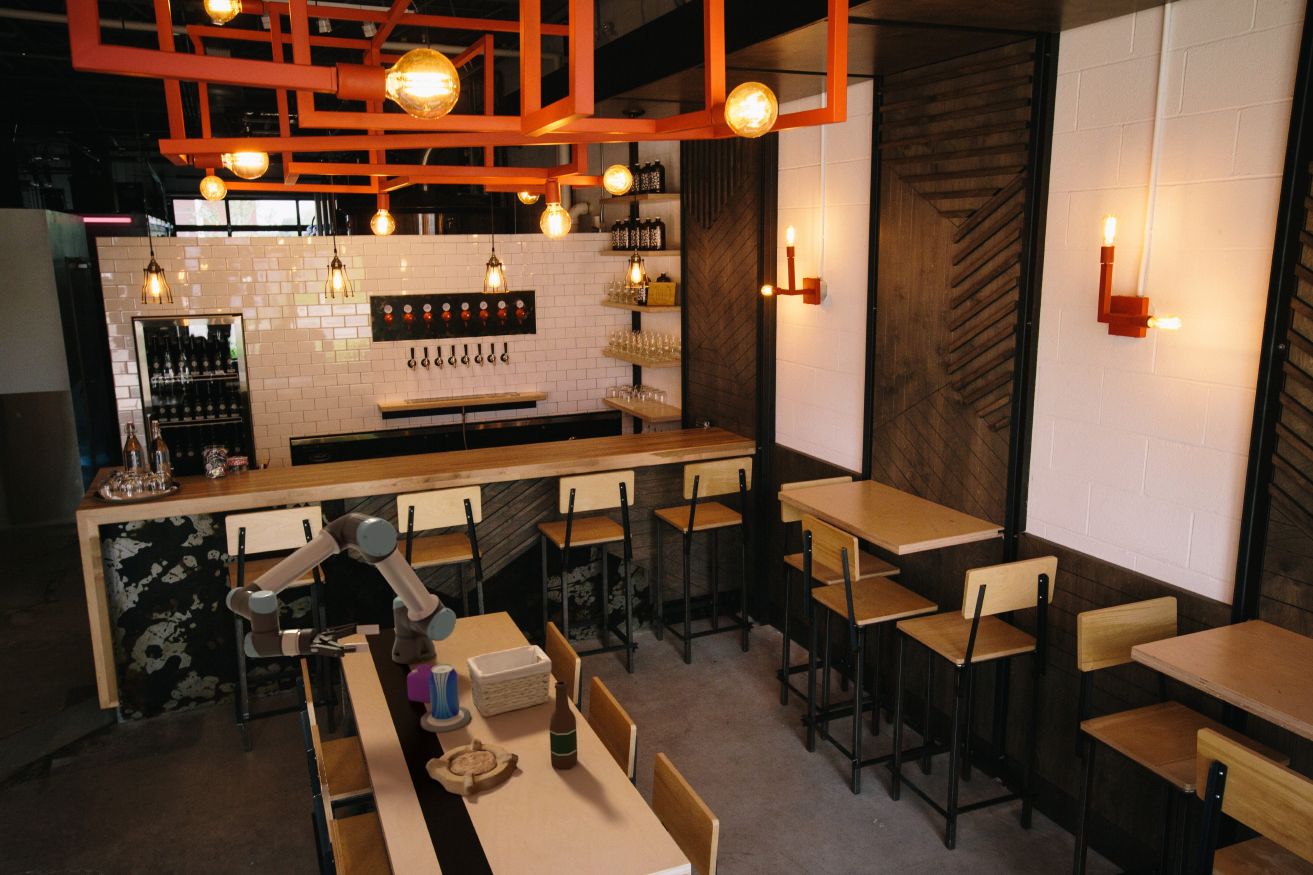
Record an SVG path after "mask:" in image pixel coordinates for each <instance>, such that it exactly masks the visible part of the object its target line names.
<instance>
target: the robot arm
mask: <svg viewBox="0 0 1313 875" xmlns="http://www.w3.org/2000/svg"><path fill="white" fill-rule="evenodd" d="M397 537H398V534H397V531H396V529H395V526H394V525H393V524H392V523H391V522H390V521H387V520H386V519H383V518H381V517H376V516H372V515H368V514H365V513H361V512H351V513H347V514H345V515H343V516H339V517H338V518H337V519H335V520H333V521H332V522H330V523H329V524H327V525H325V526H324V527H323V528H321V529H320V530H319V531H318V535H317V536H316V537H313V539H311V540H310V541H308V542H307V543H305V544H304V545H302V546H301V547H299V548H298V549H296V551H294V552H293V553H292V554H290V555H288V556H287V557H286V558H285V559H283V560H281V561H280V562H278V564H276V565H274V566H273V567H272V568H270V569H269V570H268V571H266V572H264V573H263V574H261V576H259V577H258V578H257V579H255V580H253V581H252V582H250V583H249V584H247V585H246V586H245V587H243V586H239V587H235V588H233V589H232V590H230V591H229V592H228V594H227V596H226V597H225V598H226V600H225V603H226V606H227V608H228V609H229V610H231V611H232V612H234V614H236V615H240V616H242V617H243V618H245V619H247V620H249V621H250V624H251V631H250V632H248V633H247V634H246V636H244V645H243V649H244V652H245V655H246V656H248V657H250V658H268V657H282V656H283V657H286V656H290V657H294V656H298V655H302V656H303V655H304V656H305V655H306V656H307V655H322V656H326V657H332V658H345V656H346V654H359V653H361V654H363V653H369V652H370V650H369V649H370V648H369V642H354V643H350V642H349V643H344V644H341V643H337V642H338V640H341V639H344V638H347V637H350V636H354V635H357V636H363V635H364V636H366V635H380V627H379V626H380V625H379V624H363V625H358V622H353V623H348V624H347V623H346V624H343V625H340V626H338V625H337V626H334V627H333V626H332V627H327V628H326V627H325V628H323V629H322V630H323V632H319V633H318V632H317V629H315V628H303V629H300V628H295V629H281V628H280V619H279V604H278V600H277V594H279V593H281V592H282V591H283V590H285V589H286V588H288V587H289V586H291V585H292V584H293V583H294V582H296V581H297V580H299V579H301V577H303V576H305V575H306V574H307V573H308V572H309V571H311V570H312V569H314V568H315V567H316V566H318V565H319V564H320V563H322V562H323V561H325V560H326V559H327V558H329V557H330V556H331V555H333V554H334V555H335V554H336V555H338V554H340V553H341V552H343V551H344V550H346V549H349V548H351V549H353V550H356V551H357V552H359V554H360V555H361V556H362V557H363V558H364V560H365V561H366V563H368V564H369V565H375V567H376V568H377V570H379V572H380V573H381V575H382V576H383V577H384V578H385V580H386V581H387V583H388V584H389V585H390V586H391V588H392V589H393V591H394V592H395V594H396V595H397V597H395V598H394V599H393V602H392V603H393V604H392V610H393V618H394V629H395V630H394V631H395V638H394V639H395V640H394V643H393V647H392V651H391V654H392V655H391V657H392V661H393V662H395V663H397V664H402V665H414V664H419V663H420V664H421V663H423V662H426V661H429V660H430V659H432V658H433V657H434V656H436V645H435V643H434V642H442V641H444V640H446V639H448V638H449V637H450V636H451V635H452V633H453V631H454V630H455V627H456V623H457V616H456V613H455V612H454V611H453V610H452V609H451V608H449V607H446V606H445V605H444V604H443V602H442V601H441V600H440V598H439V597H438V596H437V595H435V594H432V593H431V594H430V592H429V591H428V590H427V588H426V587H425V586H424V584H423V582H422V581H421V580H420V579H419V577H418V575H417V574H416V573H415V572H414V569H413V568H412V567H411V566H410V564H409V563H408V562H407V560H406V559H405V557H404V556H403V554H402V553H401V552H400V551H399V549H398V548H399V541H398V540H397V539H398V538H397ZM433 641H434V642H433Z"/></svg>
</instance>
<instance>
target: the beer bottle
mask: <svg viewBox="0 0 1313 875" xmlns="http://www.w3.org/2000/svg"><path fill="white" fill-rule="evenodd" d="M568 688H569V686H568V682H567V681H565V680H560V681H556V682H555V684H554V689H555V707H554V711H553V712H552V714H551V717H550V719H549V720H550V721H549V742H550V743H549V744H550V747H549V748H550V760H551V761H550V762H551V763H550V764H551V767H552V768H554V769H556V770H558V771H566V770H571V769H573V768H575V767H576V766H577V765H578V740H577V739H578V736H577V734H578V733H577V718H576V716H575V713H574V712H573V710H571V708H570V704H569V697H568V696H569V694H568Z"/></svg>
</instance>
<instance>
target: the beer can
mask: <svg viewBox="0 0 1313 875" xmlns="http://www.w3.org/2000/svg"><path fill="white" fill-rule="evenodd" d="M435 665H436V666H434V665H433V666H434V667H433V668H432V669H431V673H430V675H429V688H430V702H431V703H430V710H431V715H432V717H433V718H434V719H435V720H436V721H437V722H449V721H452V720H454V719H455V718H456V717H457V715H458V714H459V706H460V701H459V700H460V699H459V697H460V696H459V683H458V673H457V671H456V669H455V668H454V665H452V664H451V663H439V664H435Z"/></svg>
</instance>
